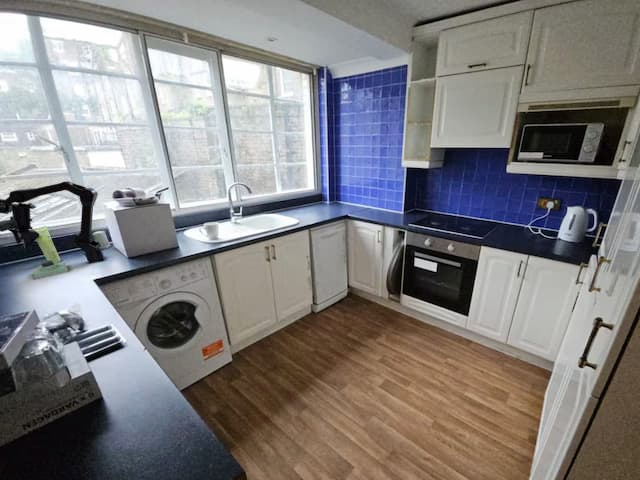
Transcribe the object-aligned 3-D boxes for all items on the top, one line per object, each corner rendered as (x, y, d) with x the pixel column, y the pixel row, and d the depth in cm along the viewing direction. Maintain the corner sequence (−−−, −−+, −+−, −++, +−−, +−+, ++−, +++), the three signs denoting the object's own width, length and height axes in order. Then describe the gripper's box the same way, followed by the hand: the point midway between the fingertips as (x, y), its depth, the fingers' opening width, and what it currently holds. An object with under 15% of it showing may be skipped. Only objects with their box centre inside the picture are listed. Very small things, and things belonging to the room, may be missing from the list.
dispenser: (66, 266, 155) (63, 259, 153) (68, 271, 148) (65, 264, 147) (34, 273, 147) (30, 266, 145) (35, 279, 140) (31, 271, 139)
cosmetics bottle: (102, 246, 184) (96, 231, 180) (110, 246, 185) (104, 230, 181) (98, 249, 179) (91, 233, 175) (106, 248, 180) (100, 232, 176)
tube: (59, 262, 160) (43, 227, 152) (46, 264, 157) (29, 229, 150) (62, 259, 164) (46, 225, 156) (49, 261, 162) (33, 227, 154)
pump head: (53, 263, 149) (51, 259, 148) (54, 265, 146) (52, 261, 145) (42, 266, 146) (40, 262, 145) (43, 268, 143) (41, 264, 143)
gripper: (-13, 209, 139) (-11, 241, 143) (4, 220, 132) (6, 253, 136) (22, 211, 149) (23, 240, 153) (39, 221, 142) (40, 251, 146)
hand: (22, 246), depth 146 cm, fingers open, 9 cm apart
